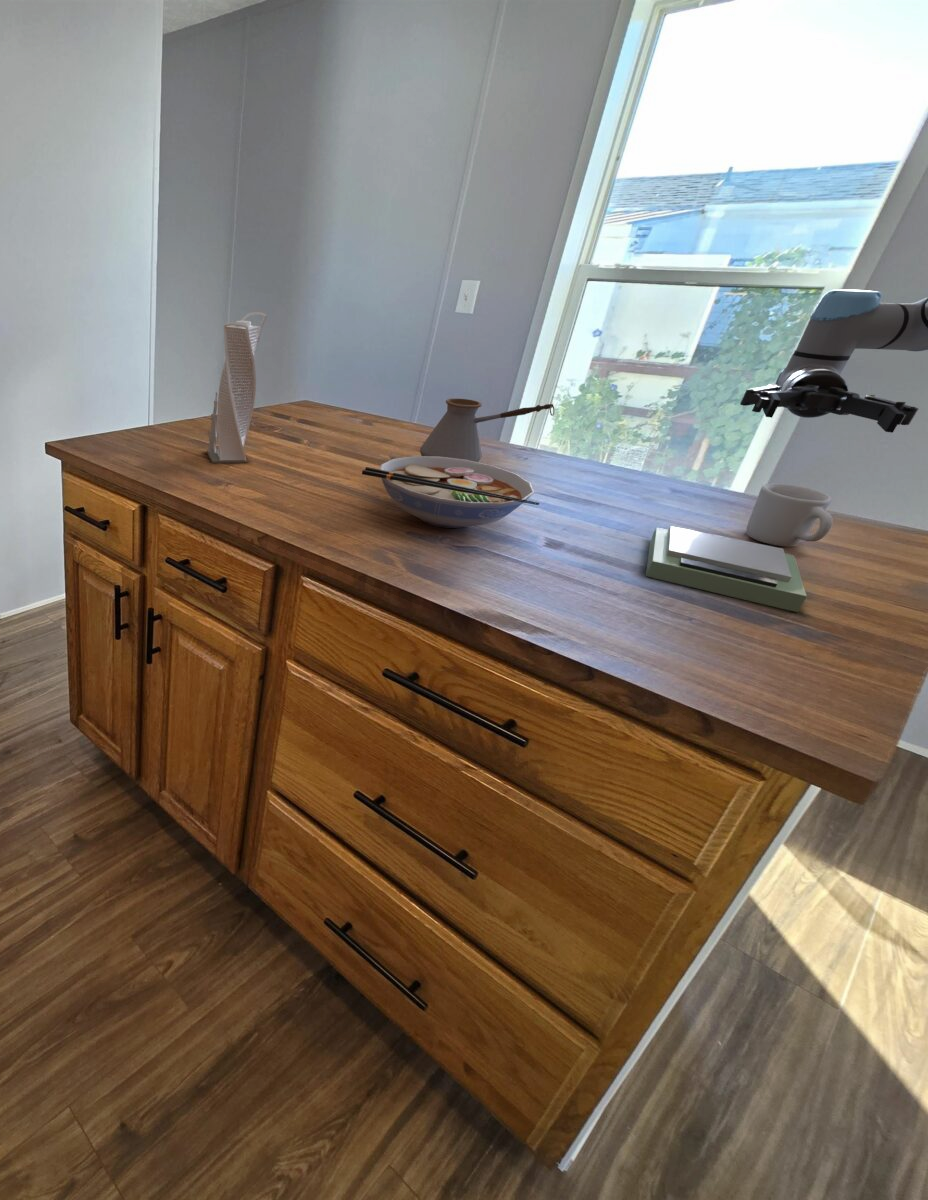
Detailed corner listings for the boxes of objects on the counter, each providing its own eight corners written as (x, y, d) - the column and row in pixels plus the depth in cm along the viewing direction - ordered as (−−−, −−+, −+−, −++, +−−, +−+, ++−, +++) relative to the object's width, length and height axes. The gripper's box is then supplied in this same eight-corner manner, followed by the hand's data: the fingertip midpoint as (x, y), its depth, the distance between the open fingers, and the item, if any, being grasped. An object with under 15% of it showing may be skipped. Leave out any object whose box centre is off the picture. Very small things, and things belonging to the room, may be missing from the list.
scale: (785, 570, 93) (796, 550, 92) (797, 612, 83) (810, 590, 81) (650, 541, 102) (658, 522, 100) (645, 576, 91) (654, 555, 90)
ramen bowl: (534, 515, 111) (550, 468, 107) (518, 564, 94) (536, 511, 90) (384, 485, 122) (393, 442, 118) (346, 524, 106) (355, 476, 102)
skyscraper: (245, 452, 140) (260, 309, 126) (254, 464, 133) (271, 314, 119) (206, 452, 139) (217, 309, 125) (213, 464, 132) (225, 314, 118)
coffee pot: (407, 465, 133) (425, 390, 125) (430, 454, 140) (448, 381, 133) (520, 492, 120) (547, 410, 113) (538, 478, 127) (565, 399, 120)
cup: (836, 559, 97) (867, 509, 93) (783, 559, 97) (811, 508, 93) (773, 530, 106) (799, 483, 102) (724, 529, 106) (748, 482, 102)
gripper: (900, 425, 110) (934, 455, 95) (713, 403, 122) (716, 426, 108) (928, 379, 106) (967, 402, 91) (732, 361, 119) (738, 379, 104)
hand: (831, 415), depth 99 cm, fingers open, 13 cm apart
